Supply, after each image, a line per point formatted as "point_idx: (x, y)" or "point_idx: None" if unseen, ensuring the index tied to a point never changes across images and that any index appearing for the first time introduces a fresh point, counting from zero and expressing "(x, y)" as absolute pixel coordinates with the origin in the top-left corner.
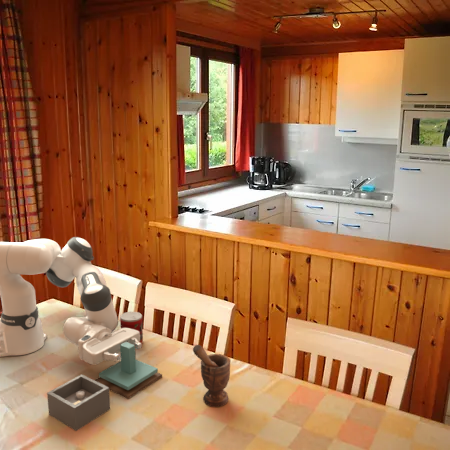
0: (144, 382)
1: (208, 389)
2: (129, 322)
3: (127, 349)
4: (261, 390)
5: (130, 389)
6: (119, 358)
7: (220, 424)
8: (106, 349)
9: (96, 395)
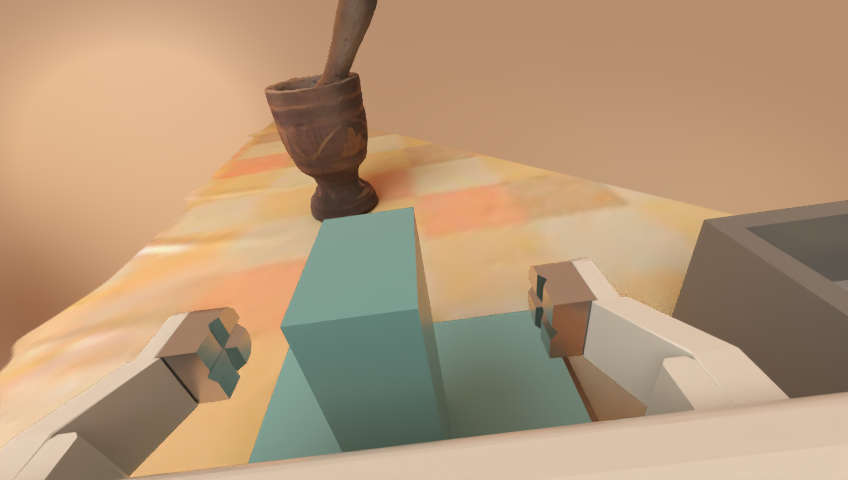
0: None
1: (357, 169)
2: None
3: (416, 239)
4: (263, 191)
5: None
6: (531, 295)
7: (418, 170)
8: (711, 408)
9: (805, 208)
